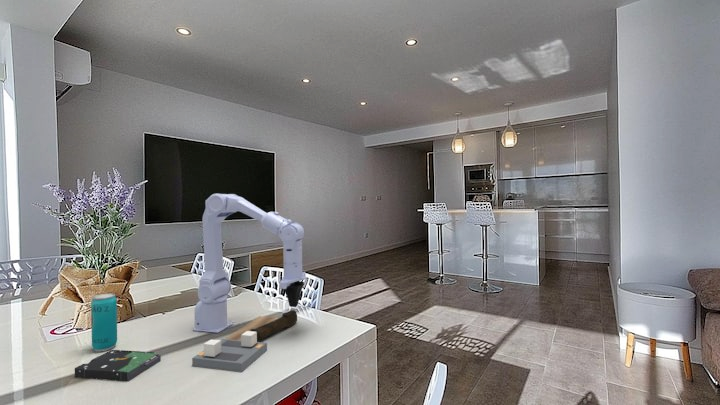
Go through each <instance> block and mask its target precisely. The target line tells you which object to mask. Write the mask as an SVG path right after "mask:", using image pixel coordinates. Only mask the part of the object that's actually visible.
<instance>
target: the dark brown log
mask: <svg viewBox="0 0 720 405" xmlns="http://www.w3.org/2000/svg"><path fill="white" fill-rule="evenodd" d="M278 318H279V319H276V320H274V321H272V322H270V323H268V324H265V325H263V326H261V327H258V328H256V329H251V330H250V331H254V332H257V342H260V341H263V339H265V338H266V337H269V336H271V335H272V334H274V333H276V332H279V331H280V330H282V329H284V328H285V329H289V328H291V327H292V326H293V325H296V323H297V322H298V313H297V311H296V310H295V309H293V310H289V311H286V312H284V313H283V314H282V316H280V317H278Z"/></svg>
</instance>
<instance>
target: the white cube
mask: <svg viewBox="0 0 720 405" xmlns="http://www.w3.org/2000/svg"><path fill="white" fill-rule="evenodd" d="M203 351H204V356H211V357H215V356H216V355H218V354H219V353H220V352H221V339H209V340H207V341H206V342H204V343H203Z"/></svg>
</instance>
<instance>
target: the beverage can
mask: <svg viewBox="0 0 720 405" xmlns="http://www.w3.org/2000/svg"><path fill="white" fill-rule="evenodd" d="M91 298H92V300H91V303H90V308H91V309H90V312H91V313H90V315H91V318H90V320H91V347H92V348H93V350H94V352H96V353H101V351H103V352H108V351H110V350H113V349H114V348H115V347H116V344H117V342H118V307H117V306H118V304H117V302H118V301H117V297H116V294H115V293H112V292H111V293H102V294H97V295H94V296H92V297H91ZM107 350H108V351H107Z"/></svg>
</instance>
